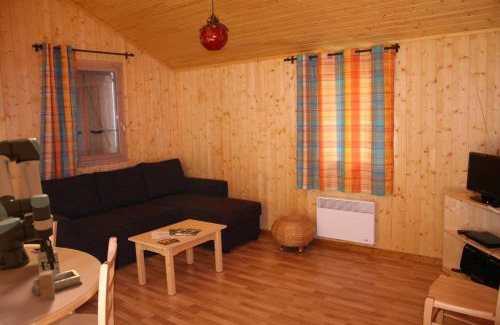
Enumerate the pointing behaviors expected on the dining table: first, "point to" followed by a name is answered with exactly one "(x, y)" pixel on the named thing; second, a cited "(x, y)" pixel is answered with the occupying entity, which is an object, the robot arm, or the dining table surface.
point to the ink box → (43, 261)
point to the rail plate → (60, 281)
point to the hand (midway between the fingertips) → (49, 271)
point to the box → (46, 285)
